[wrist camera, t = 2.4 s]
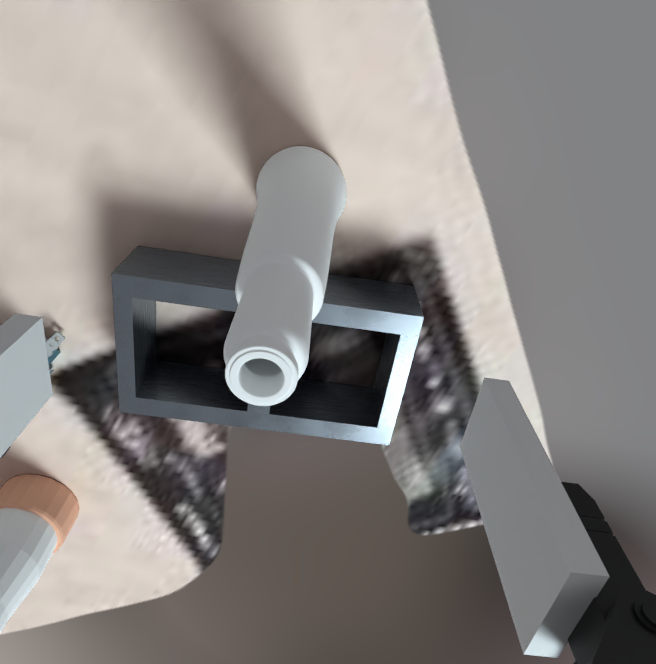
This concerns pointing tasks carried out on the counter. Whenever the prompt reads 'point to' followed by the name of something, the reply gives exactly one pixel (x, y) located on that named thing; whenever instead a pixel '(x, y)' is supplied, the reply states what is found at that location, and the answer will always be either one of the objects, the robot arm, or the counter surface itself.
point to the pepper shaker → (30, 534)
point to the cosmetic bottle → (283, 274)
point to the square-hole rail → (209, 383)
